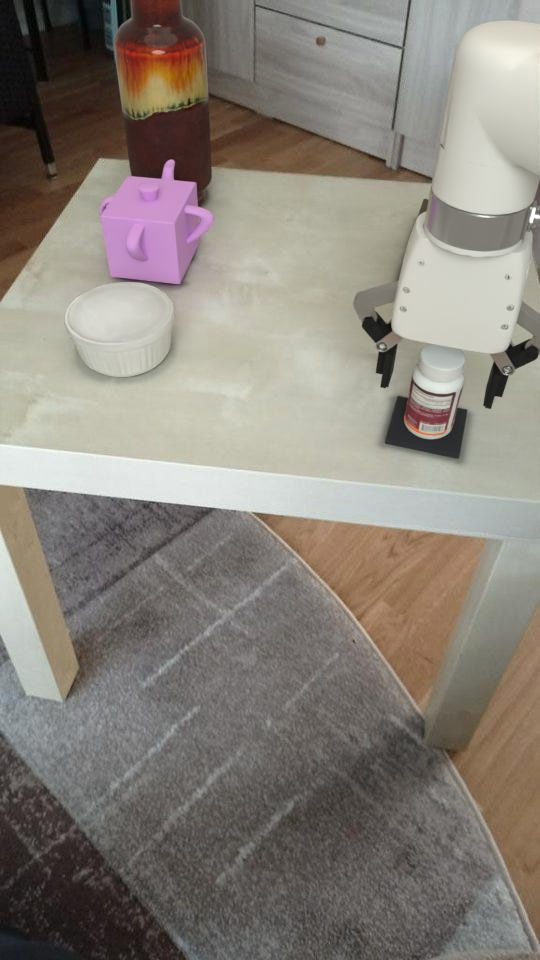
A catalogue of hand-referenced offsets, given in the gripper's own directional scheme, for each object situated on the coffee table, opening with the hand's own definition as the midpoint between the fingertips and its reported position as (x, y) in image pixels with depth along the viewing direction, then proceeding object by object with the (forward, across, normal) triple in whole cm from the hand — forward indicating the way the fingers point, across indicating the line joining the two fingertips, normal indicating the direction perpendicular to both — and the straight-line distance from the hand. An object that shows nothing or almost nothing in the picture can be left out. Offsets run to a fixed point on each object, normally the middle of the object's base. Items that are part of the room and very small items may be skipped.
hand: (436, 388), depth 68 cm
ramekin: (+5, +33, -2) cm, 34 cm away
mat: (+5, 0, 0) cm, 5 cm away
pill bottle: (+5, 0, 0) cm, 5 cm away
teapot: (+5, +36, -20) cm, 42 cm away
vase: (+5, +41, -36) cm, 55 cm away
